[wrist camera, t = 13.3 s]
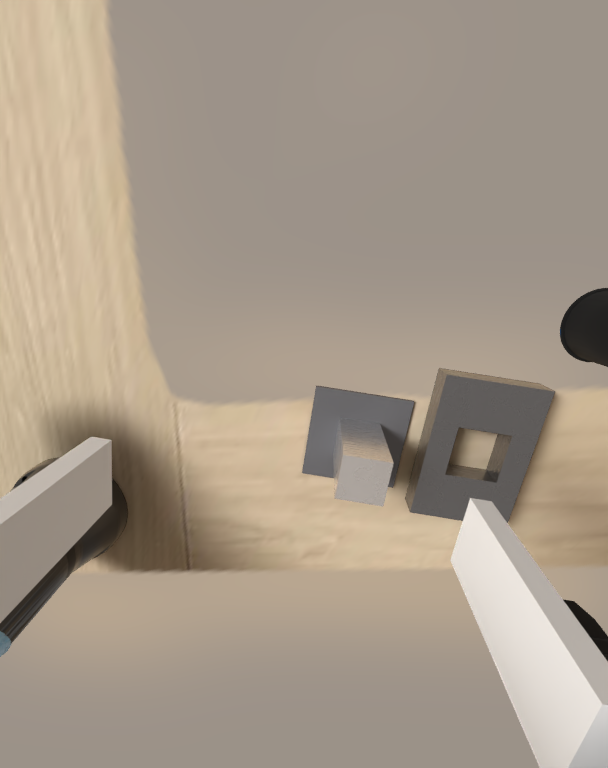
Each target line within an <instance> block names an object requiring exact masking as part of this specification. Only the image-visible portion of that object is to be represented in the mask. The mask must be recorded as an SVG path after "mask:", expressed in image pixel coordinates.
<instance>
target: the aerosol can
mask: <svg viewBox="0 0 608 768" xmlns="http://www.w3.org/2000/svg"><path fill="white" fill-rule="evenodd" d="M560 337H561V342H562V344H563V346H564V348H565V350H566V351H567V352H568V353H569V354H570V355H571V356H573V357H574V358H576V359H578V360H581V361H585V362H595V363H598V364H601V365H604V366H607V367H608V288H602V289H597V290H594V291H591V292H588V293H586V294H585V295H583V296H581V297H580V298H578V299H577V300H576V301H575V302H574V303H573V304H572V305H571V306H570V307H569V309H568V310H567V312H566V313H565V315H564V317H563V320H562V323H561V327H560Z"/></svg>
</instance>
